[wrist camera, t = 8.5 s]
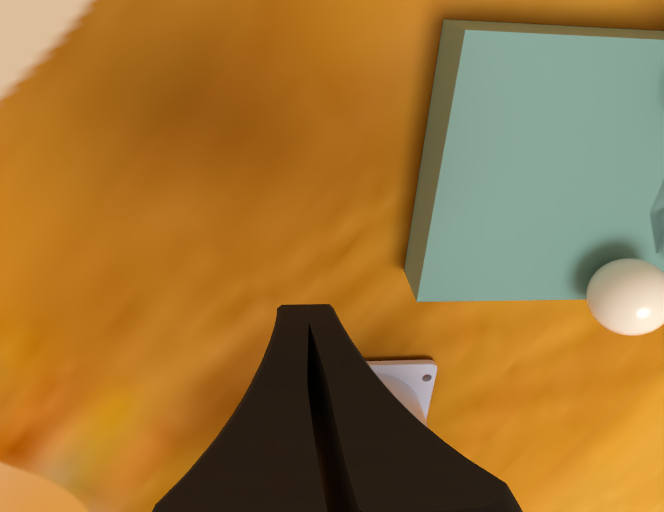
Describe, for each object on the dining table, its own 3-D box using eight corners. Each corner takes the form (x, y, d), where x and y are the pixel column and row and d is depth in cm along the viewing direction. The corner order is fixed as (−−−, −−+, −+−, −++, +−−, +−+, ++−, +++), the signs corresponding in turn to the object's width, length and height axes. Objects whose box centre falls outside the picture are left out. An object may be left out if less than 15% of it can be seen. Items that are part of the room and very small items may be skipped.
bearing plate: (404, 270, 25) (416, 301, 23) (443, 19, 19) (465, 30, 17) (760, 267, 27) (801, 296, 25) (890, 42, 21) (958, 54, 19)
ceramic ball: (628, 303, 24) (673, 350, 21) (563, 304, 24) (601, 352, 21) (654, 243, 23) (707, 286, 20) (585, 244, 22) (629, 287, 19)
